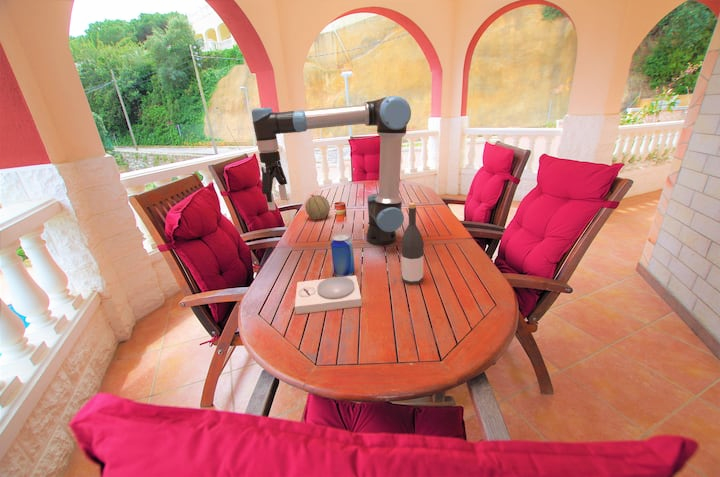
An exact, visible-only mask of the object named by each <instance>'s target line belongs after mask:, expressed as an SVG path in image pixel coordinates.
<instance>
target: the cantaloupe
mask: <svg viewBox="0 0 720 477" xmlns="http://www.w3.org/2000/svg"><path fill="white" fill-rule="evenodd" d="M310 196H311V197H309V198H308V199H307V200H306V202H305V211H306V214H307V215H308V216H309V217H310V218H311V219H314V220H322V219H324V218H326V217H328V215H329V213H330V211H331V205H330V203H329V201H328V199H327V198H326V197H325V196H323V195H320V194H319V195H318V194H316V195H314V194H311V195H310Z"/></svg>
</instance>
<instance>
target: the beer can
mask: <svg viewBox="0 0 720 477" xmlns="http://www.w3.org/2000/svg"><path fill="white" fill-rule="evenodd" d="M353 242H354V241H353V240H352V239H351V236H350V235H349V234H347V233H338V234H335V235H333V236H332V240H331V241H330V248H331V256H332V257H331V259H332V266H333V273H334V275H336V277H346V276H353V274H354V272H355V258H354V257H355V256H354V244H353Z"/></svg>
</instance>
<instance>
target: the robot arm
mask: <svg viewBox="0 0 720 477" xmlns="http://www.w3.org/2000/svg"><path fill="white" fill-rule="evenodd" d="M273 111H274V110H273V109H272V108H271V107H256V108H253V109H252V110H251V118H252V124H253V130H254V135H255V139H256V146H257V150H258V151H259V153H258V155H259V160H260V163H262V164H264V166H262V167H261V193H262V195H265V197H266V203H267V207H268V208H267V209H268V211H275V210H276V209H277V207H276V202H275V196H274V193H273V184H274V179H276V181H277V183H278V192H279V198H280V201H287V200H288V196H287V190H286V189H287V188H286V185H287V184H288V181H287V178H286V175H285V172H284V169H283V167H282V164H281V156H280V155H281V154H280V151H279V147H280V146H279V143H278V139H277V138H278V137H277V135H278V134H279V135H280V134H293V133H294V134H295V133H304V132H307V131H308V130H314V129H323V128H334V127H344V126H346V127H347V126H356V125H357V126H358V125H365V126H367V127H369V126H370V127H372V126H374V127H375V126H376V127H377V128H376V132H377V135H378V136H379V137H380V142H379V143H380V145H379V146H380V147H379V148H380V149H379V175H378V193H373V194H370V195H368V196H367V212H368V228H367V232H366V235H365V237H366V239H365V241H366V242H367V243H369V244H371V245H376V246H384V245H385V246H386V245H390V244H392V243H395V242H396V241H397V239H398V238H397V236H398V235H397V232H396V231H398V230H399V229H400V228H401V227H402V225H403V224H404V220H405V216H404V213H403V211H402V207H403V206H402V205H403V204H402V203H403V199H402V198H401V197H400V196H399V195H400V194H399V193H400V179H401V161H402V160H401V159H402V147H403V146H402V145H403V144H402V141H403V137H405V135H406V134H407V126H408V124H409V122H410V120H411V117H412V109H411V106H410V104H409V102H408V101H407V100H406V99H405V98H403V97H401V96H397V95H391V96H386V97H381V98H379V99H375V100H369V101H364V102H363V103H362V104H356V105H355V104H354V105H346V106H334V107H326V108H325V107H323V108H315V109H314V108H313V109H304V110H303V109H301V110H291V111H290V110H289V111H282V112H273Z"/></svg>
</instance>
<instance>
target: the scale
mask: <svg viewBox="0 0 720 477" xmlns="http://www.w3.org/2000/svg"><path fill="white" fill-rule="evenodd" d="M296 283H297V284H296V291H295V292H296V293H295V300H294V310H295V311H294V312H295V315H301V314H302V315H303V314H310V313H317V312H327V311H334V310H335V311H336V310H343V309H350V308H357V307H362V305H363V302H362V297H361V296H362V295H361V291H360V287H359V283H358V278H357V275H351V276H346V277H338V276H331V277H328V278H323V279H322V278H321V279H313V280H305V281H298V282H296Z"/></svg>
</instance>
